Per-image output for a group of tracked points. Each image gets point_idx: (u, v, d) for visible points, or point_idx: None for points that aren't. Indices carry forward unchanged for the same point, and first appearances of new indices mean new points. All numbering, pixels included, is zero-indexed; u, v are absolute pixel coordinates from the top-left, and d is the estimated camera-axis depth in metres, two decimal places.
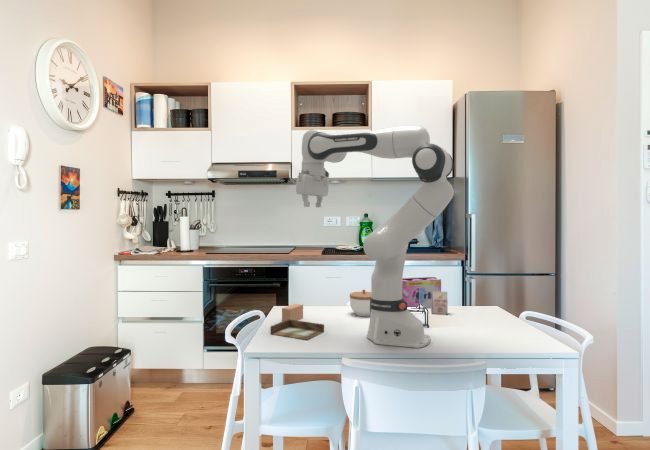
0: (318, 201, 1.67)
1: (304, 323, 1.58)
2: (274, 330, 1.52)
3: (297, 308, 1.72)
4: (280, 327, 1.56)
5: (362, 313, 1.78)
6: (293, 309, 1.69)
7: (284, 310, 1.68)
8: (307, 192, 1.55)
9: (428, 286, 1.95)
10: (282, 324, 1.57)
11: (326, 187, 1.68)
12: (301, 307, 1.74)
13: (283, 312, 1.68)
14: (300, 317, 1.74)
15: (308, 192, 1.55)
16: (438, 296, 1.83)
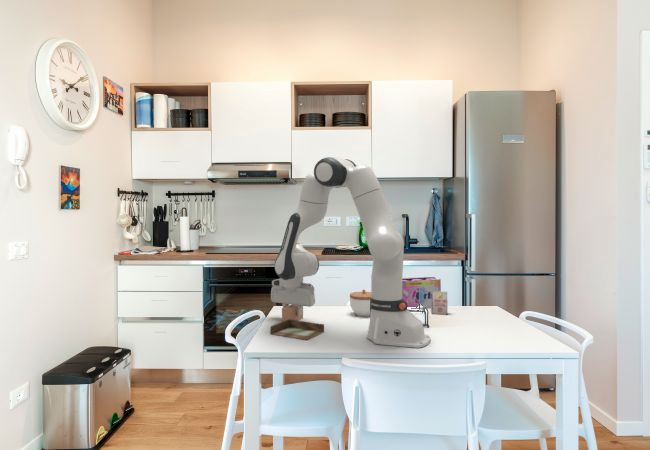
0: None
1: (304, 323, 1.58)
2: (274, 330, 1.52)
3: (297, 308, 1.72)
4: (280, 327, 1.56)
5: (362, 313, 1.78)
6: (293, 309, 1.69)
7: (284, 310, 1.68)
8: None
9: (428, 286, 1.96)
10: (282, 324, 1.57)
11: None
12: None
13: (283, 312, 1.68)
14: (300, 317, 1.74)
15: None
16: (438, 296, 1.83)
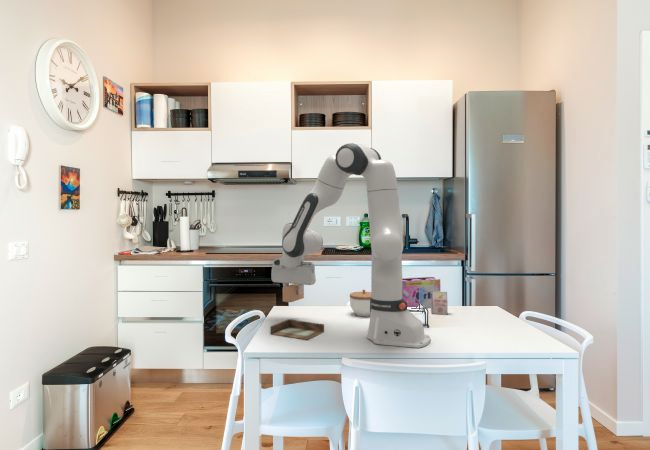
0: None
1: (304, 323, 1.58)
2: (274, 330, 1.52)
3: (298, 287, 1.71)
4: (280, 327, 1.56)
5: (362, 313, 1.78)
6: (294, 288, 1.69)
7: (285, 289, 1.68)
8: None
9: (428, 286, 1.96)
10: (282, 324, 1.57)
11: None
12: None
13: (284, 291, 1.68)
14: (301, 296, 1.74)
15: None
16: (438, 296, 1.83)
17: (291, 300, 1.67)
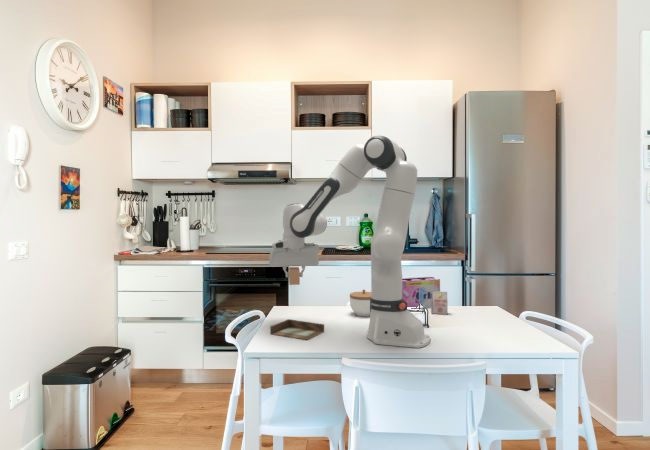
0: (286, 271, 1.68)
1: (304, 323, 1.58)
2: (274, 330, 1.52)
3: None
4: (280, 327, 1.56)
5: (362, 313, 1.78)
6: None
7: (292, 271, 1.63)
8: None
9: (427, 286, 1.96)
10: (282, 324, 1.57)
11: None
12: None
13: (291, 273, 1.63)
14: None
15: None
16: (438, 296, 1.83)
17: None
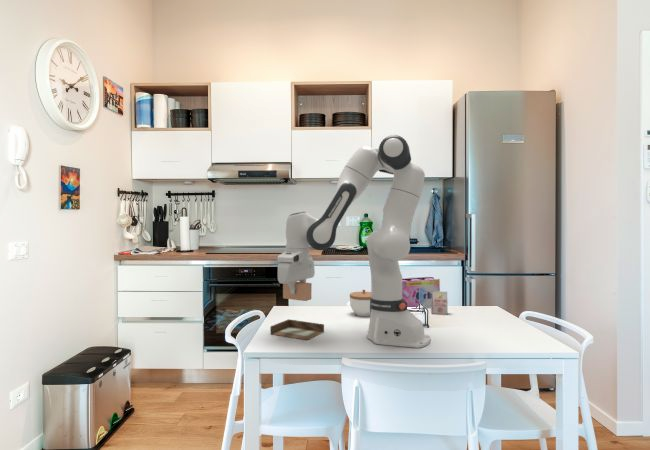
0: None
1: (304, 323, 1.58)
2: (274, 330, 1.52)
3: None
4: (280, 327, 1.56)
5: (362, 313, 1.78)
6: None
7: (307, 286, 1.50)
8: None
9: (427, 286, 1.96)
10: (282, 324, 1.57)
11: None
12: None
13: (306, 288, 1.49)
14: None
15: None
16: (438, 296, 1.83)
17: None
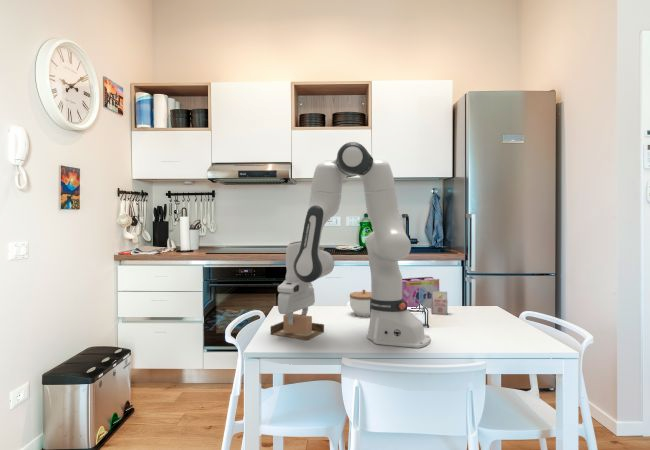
0: None
1: None
2: (274, 330, 1.52)
3: None
4: (280, 327, 1.56)
5: (362, 313, 1.78)
6: None
7: (308, 319, 1.50)
8: None
9: (427, 286, 1.96)
10: (282, 324, 1.57)
11: None
12: None
13: (307, 322, 1.50)
14: None
15: None
16: (438, 296, 1.83)
17: None
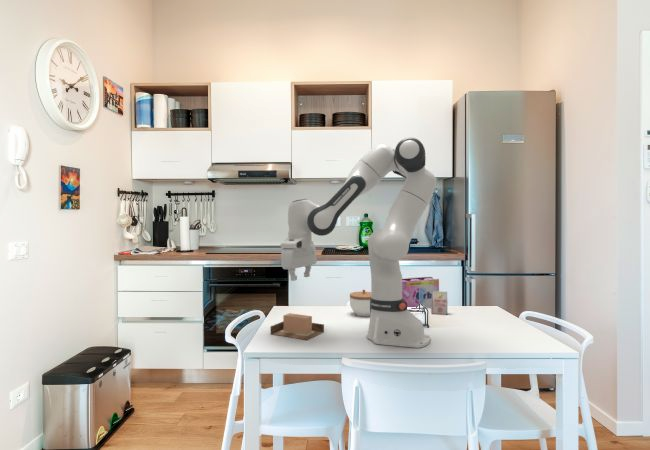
0: None
1: None
2: (274, 330, 1.52)
3: None
4: (280, 327, 1.56)
5: (362, 313, 1.78)
6: None
7: (308, 319, 1.50)
8: None
9: (427, 286, 1.96)
10: (282, 324, 1.57)
11: None
12: None
13: (307, 322, 1.50)
14: None
15: None
16: (438, 296, 1.83)
17: None
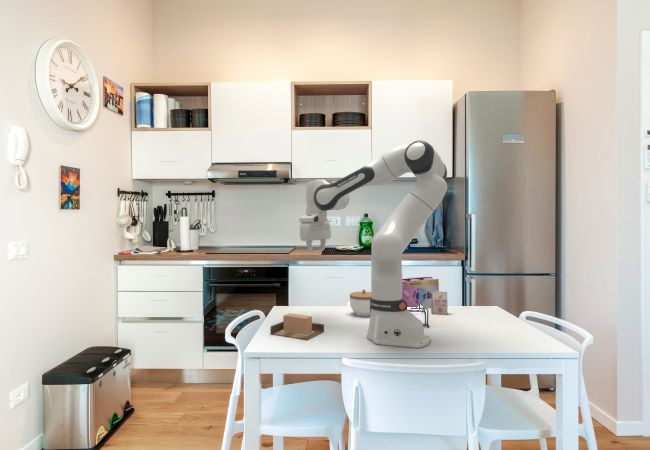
0: None
1: None
2: (274, 330, 1.52)
3: None
4: (280, 327, 1.56)
5: (362, 313, 1.78)
6: None
7: (308, 319, 1.50)
8: None
9: (427, 286, 1.96)
10: (282, 324, 1.57)
11: None
12: None
13: (307, 322, 1.50)
14: None
15: None
16: (438, 296, 1.83)
17: None
